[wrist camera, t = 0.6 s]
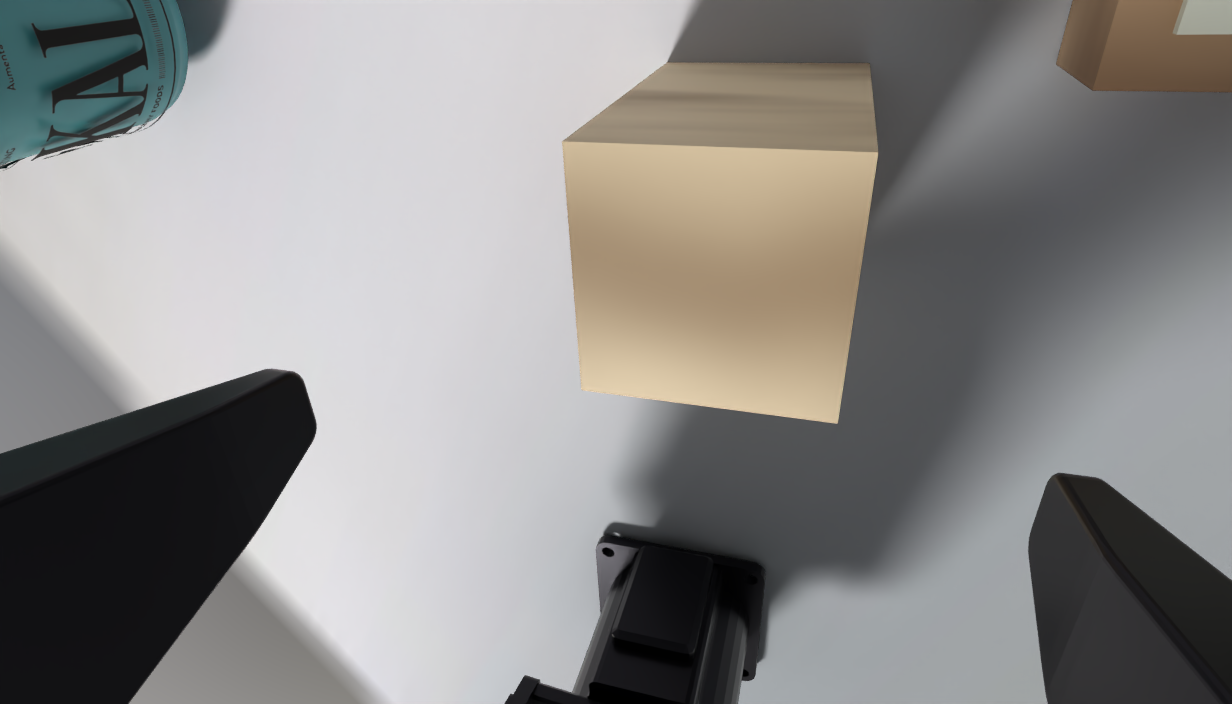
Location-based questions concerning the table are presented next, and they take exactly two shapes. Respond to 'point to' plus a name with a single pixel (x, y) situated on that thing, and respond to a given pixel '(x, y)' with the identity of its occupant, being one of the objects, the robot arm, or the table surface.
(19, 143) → the beverage bottle
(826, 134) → the oak block
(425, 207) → the table surface
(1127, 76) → the picture frame
